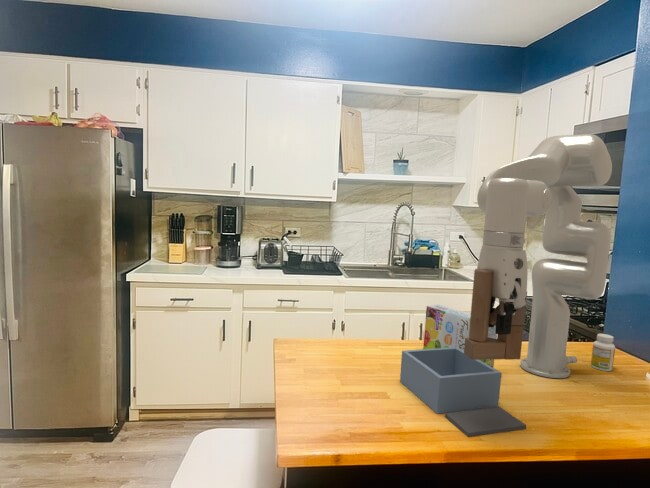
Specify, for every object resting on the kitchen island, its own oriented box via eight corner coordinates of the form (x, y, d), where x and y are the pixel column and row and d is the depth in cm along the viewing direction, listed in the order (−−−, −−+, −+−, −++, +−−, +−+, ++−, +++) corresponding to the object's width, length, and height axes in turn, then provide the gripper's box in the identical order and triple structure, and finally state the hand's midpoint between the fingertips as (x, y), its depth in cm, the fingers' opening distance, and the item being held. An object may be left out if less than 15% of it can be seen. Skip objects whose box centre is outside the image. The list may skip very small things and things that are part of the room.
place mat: (499, 410, 96) (499, 406, 96) (525, 428, 89) (526, 424, 88) (444, 416, 92) (445, 413, 92) (468, 436, 84) (468, 433, 84)
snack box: (494, 375, 116) (499, 320, 115) (481, 379, 113) (486, 323, 112) (434, 350, 134) (437, 303, 132) (421, 353, 130) (425, 304, 129)
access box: (454, 376, 114) (456, 347, 113) (498, 406, 98) (501, 372, 97) (399, 381, 109) (402, 350, 108) (436, 413, 93) (439, 378, 92)
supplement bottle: (599, 363, 129) (603, 332, 128) (617, 370, 124) (621, 338, 123) (586, 365, 128) (590, 333, 127) (603, 372, 122) (607, 339, 121)
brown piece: (521, 359, 87) (529, 272, 86) (472, 360, 85) (479, 271, 84) (510, 353, 91) (518, 269, 89) (463, 354, 89) (470, 268, 87)
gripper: (551, 245, 79) (541, 342, 81) (490, 237, 95) (483, 318, 97) (518, 245, 77) (508, 345, 79) (461, 236, 93) (454, 319, 94)
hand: (494, 329), depth 88 cm, fingers closed on brown piece, 4 cm apart
